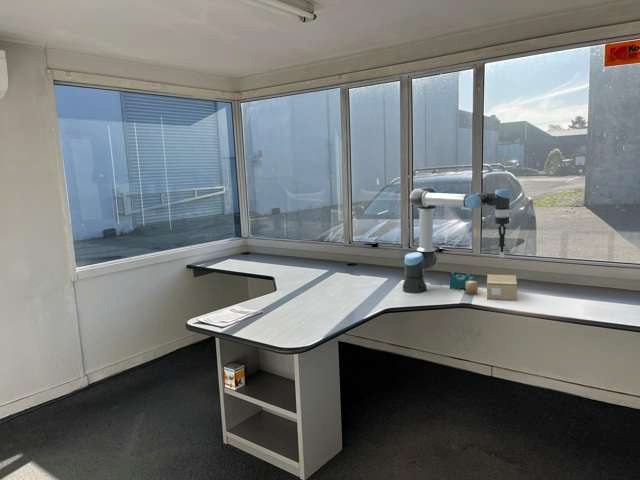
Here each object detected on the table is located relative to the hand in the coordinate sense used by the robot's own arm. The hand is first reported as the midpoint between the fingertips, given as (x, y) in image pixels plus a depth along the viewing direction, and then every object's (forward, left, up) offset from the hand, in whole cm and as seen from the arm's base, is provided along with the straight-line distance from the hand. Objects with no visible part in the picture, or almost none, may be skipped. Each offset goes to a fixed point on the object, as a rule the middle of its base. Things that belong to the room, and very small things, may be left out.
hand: (501, 257), depth 260 cm
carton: (0, +5, -24) cm, 25 cm away
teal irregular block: (-24, +22, -25) cm, 41 cm away
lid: (0, +5, -15) cm, 16 cm away
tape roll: (-17, +6, -24) cm, 30 cm away
